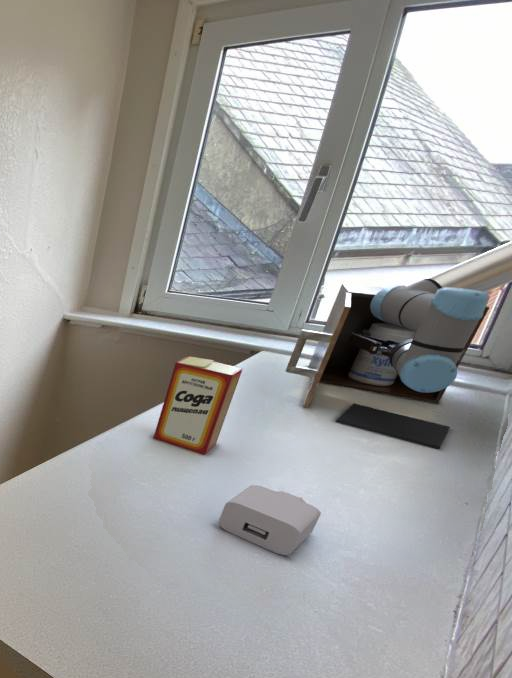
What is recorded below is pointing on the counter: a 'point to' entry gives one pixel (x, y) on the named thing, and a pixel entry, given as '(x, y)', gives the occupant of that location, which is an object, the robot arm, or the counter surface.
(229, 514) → the charger
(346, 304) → the cupboard door
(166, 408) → the baking soda box
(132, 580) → the counter surface
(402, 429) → the mat
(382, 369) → the supplement tub
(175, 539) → the counter surface
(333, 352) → the cupboard
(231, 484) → the counter surface
